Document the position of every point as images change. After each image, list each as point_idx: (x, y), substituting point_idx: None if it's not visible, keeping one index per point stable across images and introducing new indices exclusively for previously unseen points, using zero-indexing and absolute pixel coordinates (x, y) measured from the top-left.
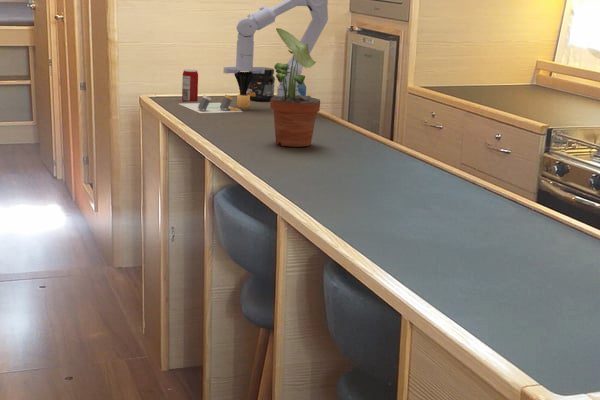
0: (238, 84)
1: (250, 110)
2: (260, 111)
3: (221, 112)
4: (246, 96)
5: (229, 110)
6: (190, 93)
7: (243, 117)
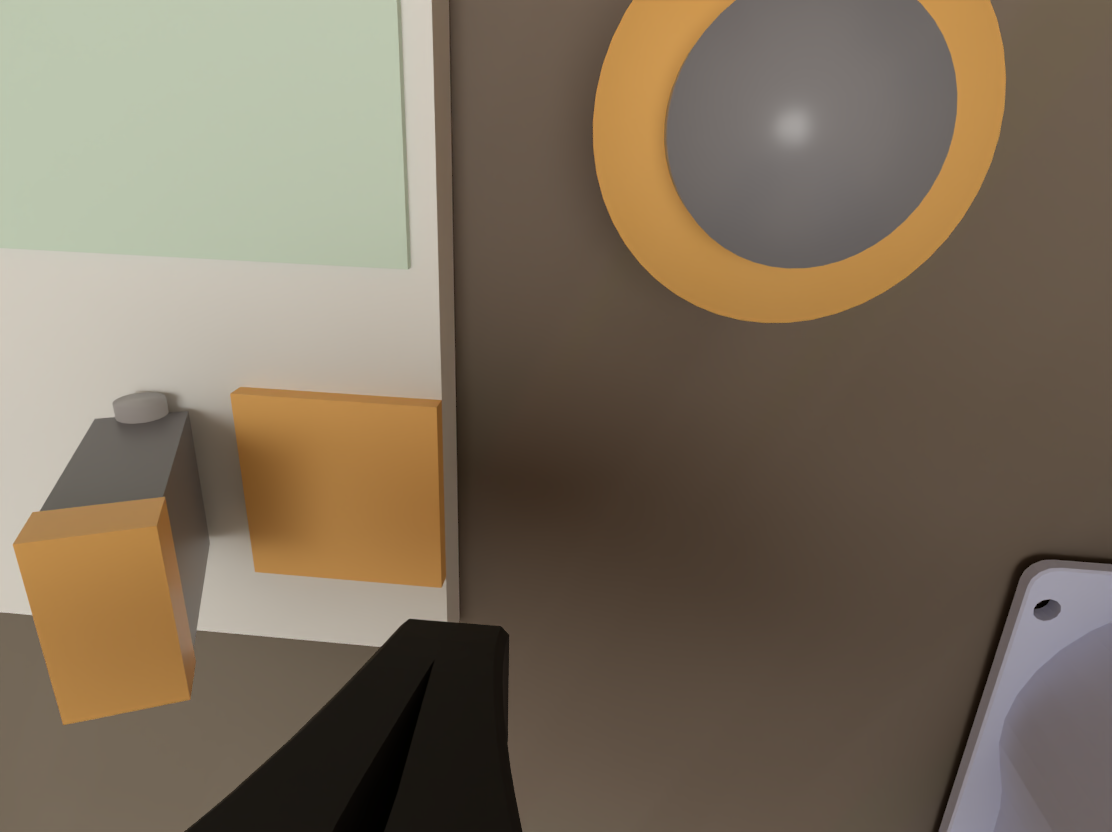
0: (222, 819)
1: None
2: (949, 374)
3: None
4: (762, 322)
5: (256, 531)
6: None
7: None
